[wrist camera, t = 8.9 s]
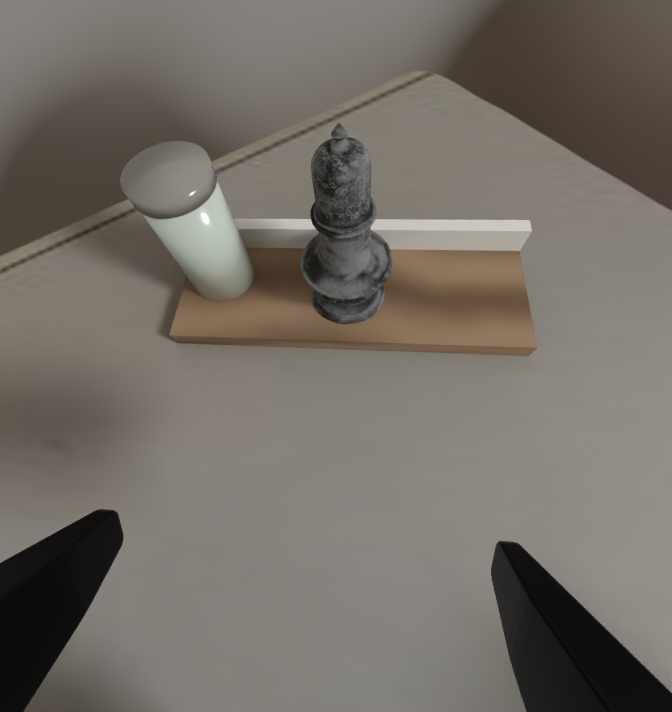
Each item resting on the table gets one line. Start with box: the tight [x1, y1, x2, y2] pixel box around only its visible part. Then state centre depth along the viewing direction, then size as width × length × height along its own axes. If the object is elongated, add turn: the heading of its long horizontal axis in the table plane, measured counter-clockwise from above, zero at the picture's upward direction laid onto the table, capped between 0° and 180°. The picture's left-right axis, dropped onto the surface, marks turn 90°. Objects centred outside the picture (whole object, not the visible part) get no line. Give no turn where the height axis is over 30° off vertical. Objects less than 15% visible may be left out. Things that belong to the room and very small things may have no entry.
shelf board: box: [169, 248, 537, 356], centre depth 26 cm, size 9×25×1 cm, turn 86°
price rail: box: [234, 219, 532, 252], centre depth 27 cm, size 1×25×3 cm, turn 86°
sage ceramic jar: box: [120, 141, 255, 302], centre depth 23 cm, size 5×5×9 cm
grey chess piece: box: [300, 123, 393, 324], centre depth 20 cm, size 6×6×12 cm
